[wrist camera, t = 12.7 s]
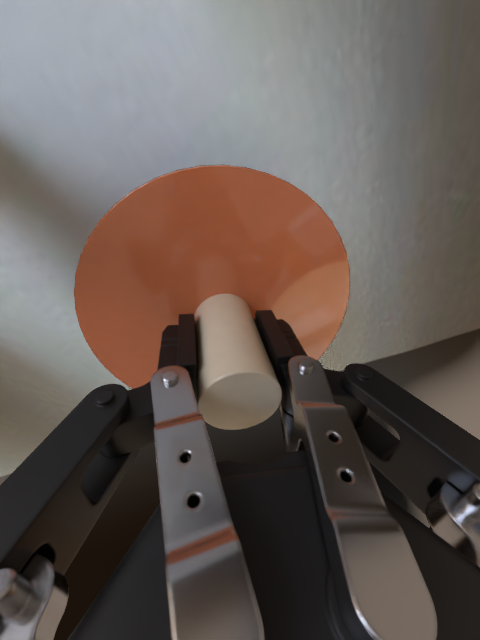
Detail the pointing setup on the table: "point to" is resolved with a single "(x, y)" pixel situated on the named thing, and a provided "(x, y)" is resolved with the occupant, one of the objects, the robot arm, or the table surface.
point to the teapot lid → (212, 282)
